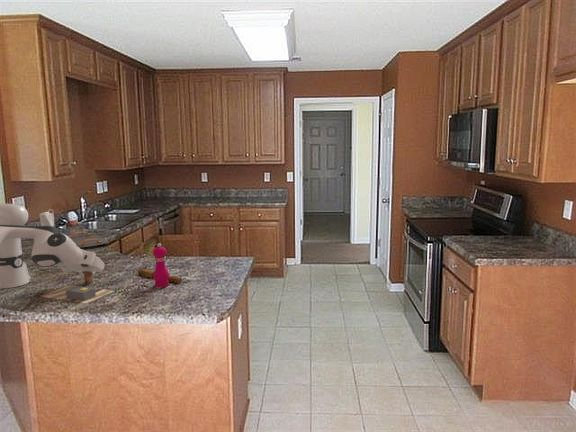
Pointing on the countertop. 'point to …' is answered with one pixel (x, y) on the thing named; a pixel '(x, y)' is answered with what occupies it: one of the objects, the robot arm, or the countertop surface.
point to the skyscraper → (47, 218)
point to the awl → (88, 277)
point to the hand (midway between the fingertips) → (88, 273)
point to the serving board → (88, 240)
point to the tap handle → (150, 273)
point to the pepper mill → (160, 267)
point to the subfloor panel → (62, 296)
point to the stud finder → (80, 293)
